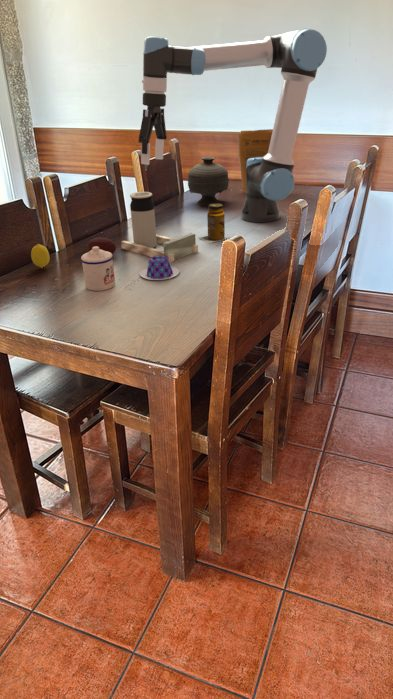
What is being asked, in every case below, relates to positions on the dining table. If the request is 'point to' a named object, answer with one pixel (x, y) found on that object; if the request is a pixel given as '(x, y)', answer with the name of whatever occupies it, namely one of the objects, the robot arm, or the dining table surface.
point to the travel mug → (143, 219)
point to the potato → (102, 244)
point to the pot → (208, 180)
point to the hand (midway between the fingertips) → (152, 161)
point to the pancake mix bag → (252, 148)
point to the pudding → (159, 269)
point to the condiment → (215, 224)
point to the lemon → (40, 255)
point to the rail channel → (166, 247)
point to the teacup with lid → (98, 269)
